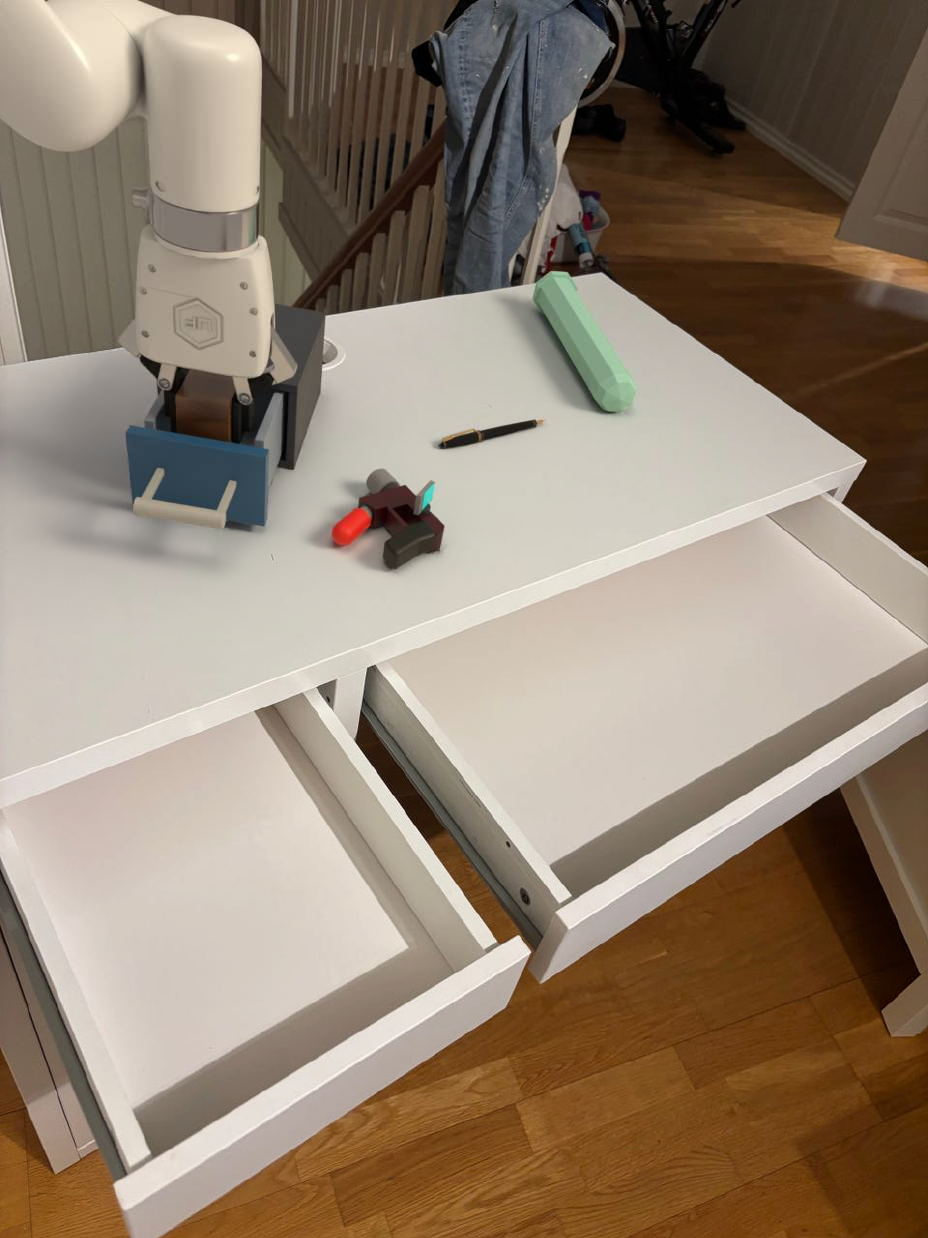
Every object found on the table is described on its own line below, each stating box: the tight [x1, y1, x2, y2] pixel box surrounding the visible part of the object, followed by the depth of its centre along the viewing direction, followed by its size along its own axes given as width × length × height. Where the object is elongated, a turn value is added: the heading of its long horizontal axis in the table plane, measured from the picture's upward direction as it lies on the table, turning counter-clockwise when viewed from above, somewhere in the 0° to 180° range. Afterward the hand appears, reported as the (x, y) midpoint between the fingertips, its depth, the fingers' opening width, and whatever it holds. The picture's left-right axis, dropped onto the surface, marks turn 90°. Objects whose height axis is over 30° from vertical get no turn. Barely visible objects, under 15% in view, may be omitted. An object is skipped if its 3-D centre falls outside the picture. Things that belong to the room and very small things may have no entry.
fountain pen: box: [437, 418, 546, 449], centre depth 100 cm, size 14×1×2 cm, turn 124°
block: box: [175, 370, 236, 443], centre depth 80 cm, size 4×4×4 cm
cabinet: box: [156, 302, 327, 470], centre depth 92 cm, size 15×13×9 cm
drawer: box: [124, 373, 289, 530], centre depth 82 cm, size 19×11×7 cm, turn 176°
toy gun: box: [330, 468, 445, 570], centre depth 84 cm, size 10×12×5 cm
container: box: [532, 270, 638, 413], centre depth 113 cm, size 6×6×25 cm
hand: (209, 427), depth 81 cm, fingers closed on block, 4 cm apart
